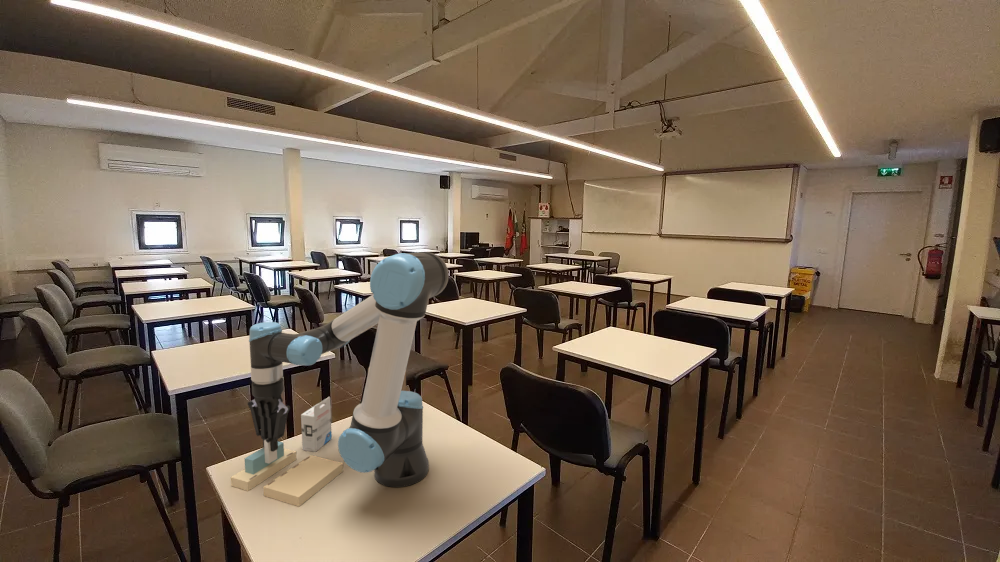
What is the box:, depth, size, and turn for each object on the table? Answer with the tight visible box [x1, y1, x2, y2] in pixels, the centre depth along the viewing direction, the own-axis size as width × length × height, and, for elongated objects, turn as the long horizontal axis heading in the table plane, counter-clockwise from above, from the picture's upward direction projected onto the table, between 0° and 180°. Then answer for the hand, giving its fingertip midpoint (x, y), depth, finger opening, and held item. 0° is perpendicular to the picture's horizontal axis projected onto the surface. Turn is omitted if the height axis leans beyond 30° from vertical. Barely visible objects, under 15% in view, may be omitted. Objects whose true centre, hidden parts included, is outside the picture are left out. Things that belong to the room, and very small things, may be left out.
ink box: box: [300, 396, 333, 452], centre depth 130 cm, size 9×5×15 cm, turn 168°
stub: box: [230, 440, 297, 492], centre depth 115 cm, size 6×16×6 cm, turn 161°
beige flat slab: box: [262, 454, 344, 507], centre depth 111 cm, size 12×16×3 cm
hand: (271, 460), depth 114 cm, fingers closed
